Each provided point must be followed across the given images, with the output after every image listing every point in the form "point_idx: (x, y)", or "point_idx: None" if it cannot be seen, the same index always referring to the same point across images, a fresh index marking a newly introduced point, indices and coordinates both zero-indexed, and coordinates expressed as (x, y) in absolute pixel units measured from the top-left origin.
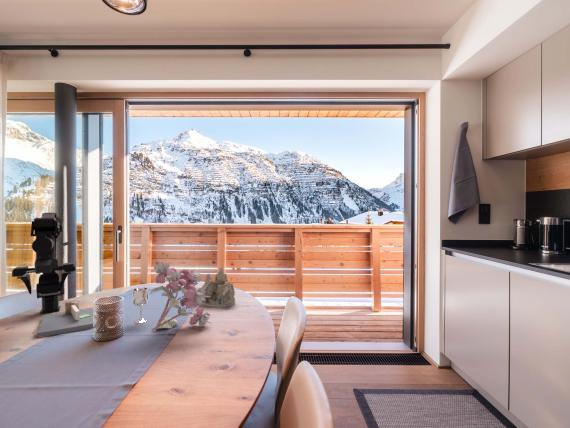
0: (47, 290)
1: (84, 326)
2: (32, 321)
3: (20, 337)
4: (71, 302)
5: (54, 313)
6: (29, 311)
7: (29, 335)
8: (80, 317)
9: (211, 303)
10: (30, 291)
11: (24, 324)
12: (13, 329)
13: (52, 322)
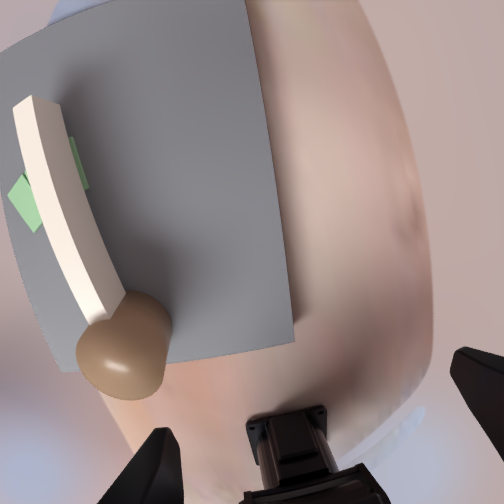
0: (325, 501)
1: (31, 38)
2: (338, 300)
3: (320, 31)
4: (118, 360)
5: (242, 347)
6: (363, 436)
7: (286, 37)
8: None
9: None
10: (476, 359)
11: (365, 260)
12: (393, 191)
13: (197, 134)
